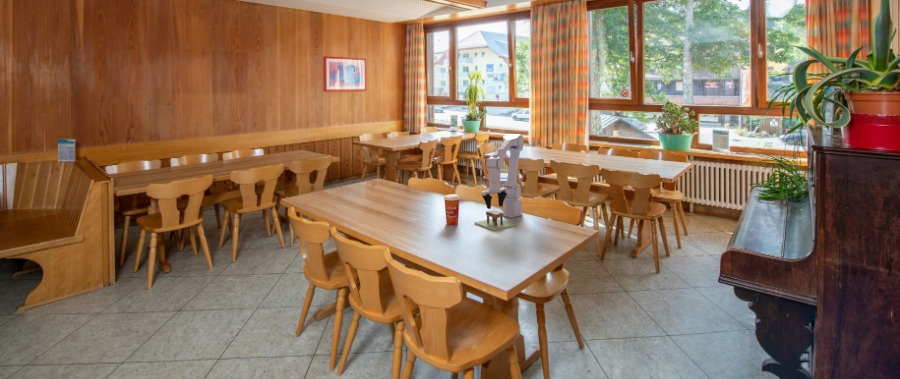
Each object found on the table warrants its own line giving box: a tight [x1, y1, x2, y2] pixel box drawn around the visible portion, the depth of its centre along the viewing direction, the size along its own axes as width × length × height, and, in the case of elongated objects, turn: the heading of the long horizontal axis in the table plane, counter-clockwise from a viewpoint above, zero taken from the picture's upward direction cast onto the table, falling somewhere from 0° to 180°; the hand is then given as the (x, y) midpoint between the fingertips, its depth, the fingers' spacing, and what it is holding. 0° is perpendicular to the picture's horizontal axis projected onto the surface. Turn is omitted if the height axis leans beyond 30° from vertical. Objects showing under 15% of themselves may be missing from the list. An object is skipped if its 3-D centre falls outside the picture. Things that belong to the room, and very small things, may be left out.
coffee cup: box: [443, 193, 461, 226], centre depth 247 cm, size 8×8×15 cm
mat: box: [474, 218, 517, 232], centre depth 245 cm, size 14×16×1 cm
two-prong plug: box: [485, 209, 505, 226], centre depth 244 cm, size 8×5×6 cm, turn 34°
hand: (494, 207), depth 243 cm, fingers open, 7 cm apart
